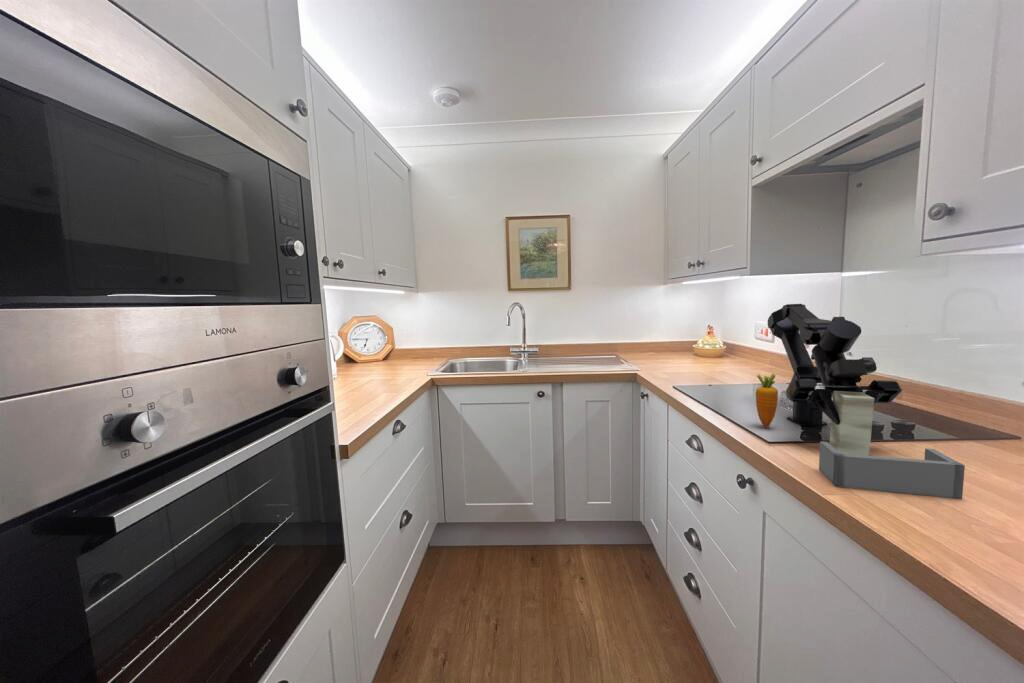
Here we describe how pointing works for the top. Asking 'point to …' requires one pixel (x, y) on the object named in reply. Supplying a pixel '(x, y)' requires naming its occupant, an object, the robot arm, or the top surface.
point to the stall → (894, 472)
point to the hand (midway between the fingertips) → (854, 424)
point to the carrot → (766, 400)
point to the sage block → (852, 423)
